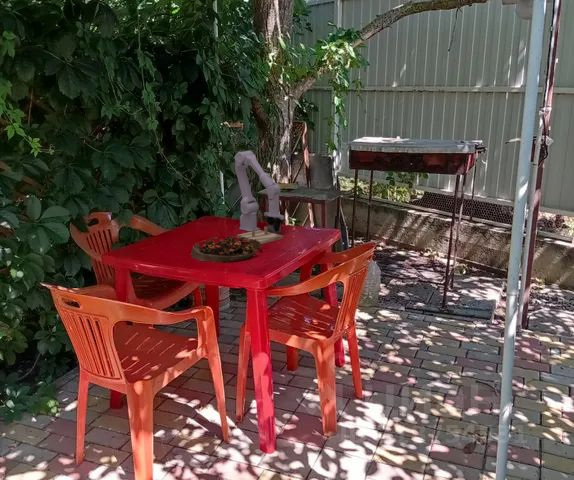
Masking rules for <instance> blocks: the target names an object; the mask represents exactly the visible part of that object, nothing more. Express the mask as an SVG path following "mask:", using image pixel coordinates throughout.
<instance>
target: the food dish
mask: <svg viewBox="0 0 574 480" xmlns="http://www.w3.org/2000/svg"><path fill="white" fill-rule="evenodd" d="M216 239H218V237H211V238H209V239H205V240H202V241H200V242H196V243H195V244H194V245H193V246H192V250H191V253H190V255H189V256H191V255H192V256H191V258H192V257H193V258H195V259H197V260H200V261H213V262H212V263H215V262H223V263H231V262H237V261H238V262H239V261H241V260H248V259H250V258H252V257H253V256H256V255H257V253H259V252H260V250H261V249H262V247H263V245H262V244H261V243H260V242H259V241H256V239H255V240H253V239H250V240H249V241H247V240H243V239H245V237H241V238H237V237H236V236H235V235H234V236H233V235H231V236H226V238H224V239H220V240H219V241H218V242H215V241H214V240H216ZM204 242H205V244H202V245H201V246H200V244H199V243H204ZM258 249H259V250H258ZM193 258H192V259H193ZM197 260H196V261H197ZM200 261H199V262H200ZM230 261H231V262H230Z"/></svg>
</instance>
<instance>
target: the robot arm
mask: <svg viewBox="0 0 574 480" xmlns="http://www.w3.org/2000/svg"><path fill="white" fill-rule="evenodd" d="M234 161H235V162H234V163H235V165H234V169H235V173H236V177H237V182H238V186H239V189H240V193H241V197H242V199H241V201H240V211H241V213H242V214H241V215H240V216H239V217H240V218H239V222H240V223H239V225H240V227H239V230H241V231H246V232H252V229H255V231H257V230H261V228H260V227H258V226H257V225H258V223H257V222H258V221H257V214H258V211H259V209H260V205H259V203H258V202H257V199H256V198H255V197H254V196H253V194H252V189H251V186H250V182H249V178H248V174H247V170H246V169H247V167H248V166H250V167H251V168H252V170H254V171H255V173H256V174H257V175H258V176H259V178H258V179H259V181H260V182H261V184H262V185H263V186H264V188H265V192H266V194H267V199H268V211H266V212H263V213H264V214H263V216H264V217H265V220H266V222H267V225H268V224H272V223H274V225H275V231H276V232H277V231H279V228H280V225H281V226H282V222H283V221H284V220H285V215H282V214H280V193H281V191H282V188H281V186H280V184H279V183H277V182H276V181H274V179H273V178H272V177H271V174H269V173H268V172H265V171H264V169H263V168H262V166H261V165H260V163H259V162H258V160H257V157H256V154H254V152H253V151H252V150H243V151H238V152H237V153H236V154H235V156H234Z"/></svg>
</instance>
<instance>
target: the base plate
mask: <svg viewBox="0 0 574 480" xmlns="http://www.w3.org/2000/svg"><path fill="white" fill-rule="evenodd" d="M263 229H264V230H261V229H258V230H255V229H252V231H248V232H245V233H241V234H236V239H239V238H241V237H245V239H243V241H248V242H249V240H250V239H253V240H255V239H256V241H259V242H260V243H261V245H262V244H267V243H271V242H275V241H279V240H283V239H284V235H281V234H279V233H277V234H274V233H270V232H268V225H267V226H265V225H264V228H263Z"/></svg>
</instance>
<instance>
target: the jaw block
mask: <svg viewBox="0 0 574 480" xmlns="http://www.w3.org/2000/svg"><path fill="white" fill-rule="evenodd" d="M281 226H282V224H281V225H280V228H279V231H277V232H276V231H275V225H274V223H272V224H268V223H267V232H270V233H274V234H281V233H282V229H281V228H282V227H281Z"/></svg>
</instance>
